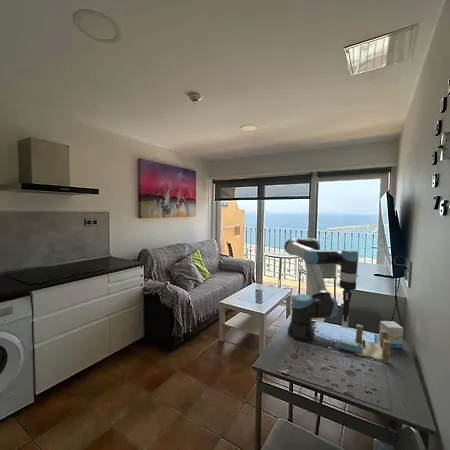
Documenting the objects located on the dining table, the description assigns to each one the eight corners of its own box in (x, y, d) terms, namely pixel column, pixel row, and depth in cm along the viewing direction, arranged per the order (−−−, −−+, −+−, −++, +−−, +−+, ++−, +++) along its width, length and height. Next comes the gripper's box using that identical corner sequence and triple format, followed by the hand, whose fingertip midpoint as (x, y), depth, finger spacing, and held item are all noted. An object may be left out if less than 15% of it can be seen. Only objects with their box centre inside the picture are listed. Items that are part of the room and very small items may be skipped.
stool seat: (354, 354, 133) (356, 335, 132) (354, 340, 147) (355, 323, 146) (390, 363, 126) (392, 344, 125) (387, 347, 140) (388, 330, 139)
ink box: (402, 348, 140) (404, 328, 139) (387, 347, 140) (388, 327, 139) (392, 340, 149) (394, 320, 148) (378, 339, 149) (379, 320, 148)
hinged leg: (362, 350, 134) (362, 343, 134) (362, 353, 132) (362, 346, 131) (339, 344, 139) (340, 338, 139) (339, 347, 137) (339, 340, 136)
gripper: (356, 286, 118) (353, 334, 120) (356, 277, 134) (353, 319, 136) (338, 283, 122) (335, 330, 123) (340, 275, 138) (338, 316, 140)
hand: (344, 324), depth 130 cm, fingers open, 5 cm apart
